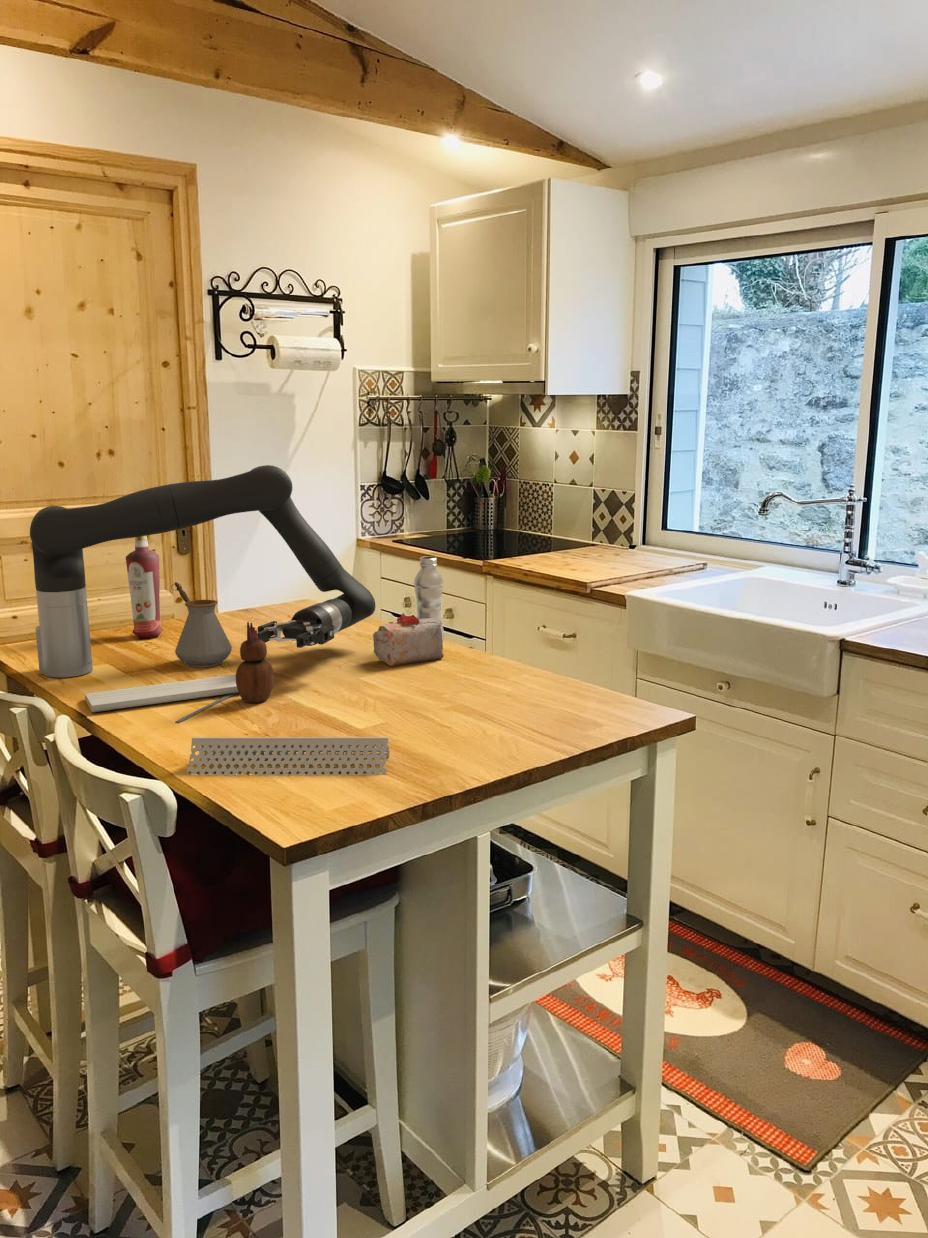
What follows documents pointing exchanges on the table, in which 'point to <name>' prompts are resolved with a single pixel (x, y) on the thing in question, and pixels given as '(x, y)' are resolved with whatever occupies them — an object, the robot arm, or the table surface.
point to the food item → (408, 641)
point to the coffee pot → (201, 634)
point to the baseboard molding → (161, 693)
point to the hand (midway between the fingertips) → (277, 641)
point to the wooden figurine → (254, 669)
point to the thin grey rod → (206, 707)
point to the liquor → (144, 589)
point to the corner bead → (289, 754)
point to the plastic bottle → (429, 590)
